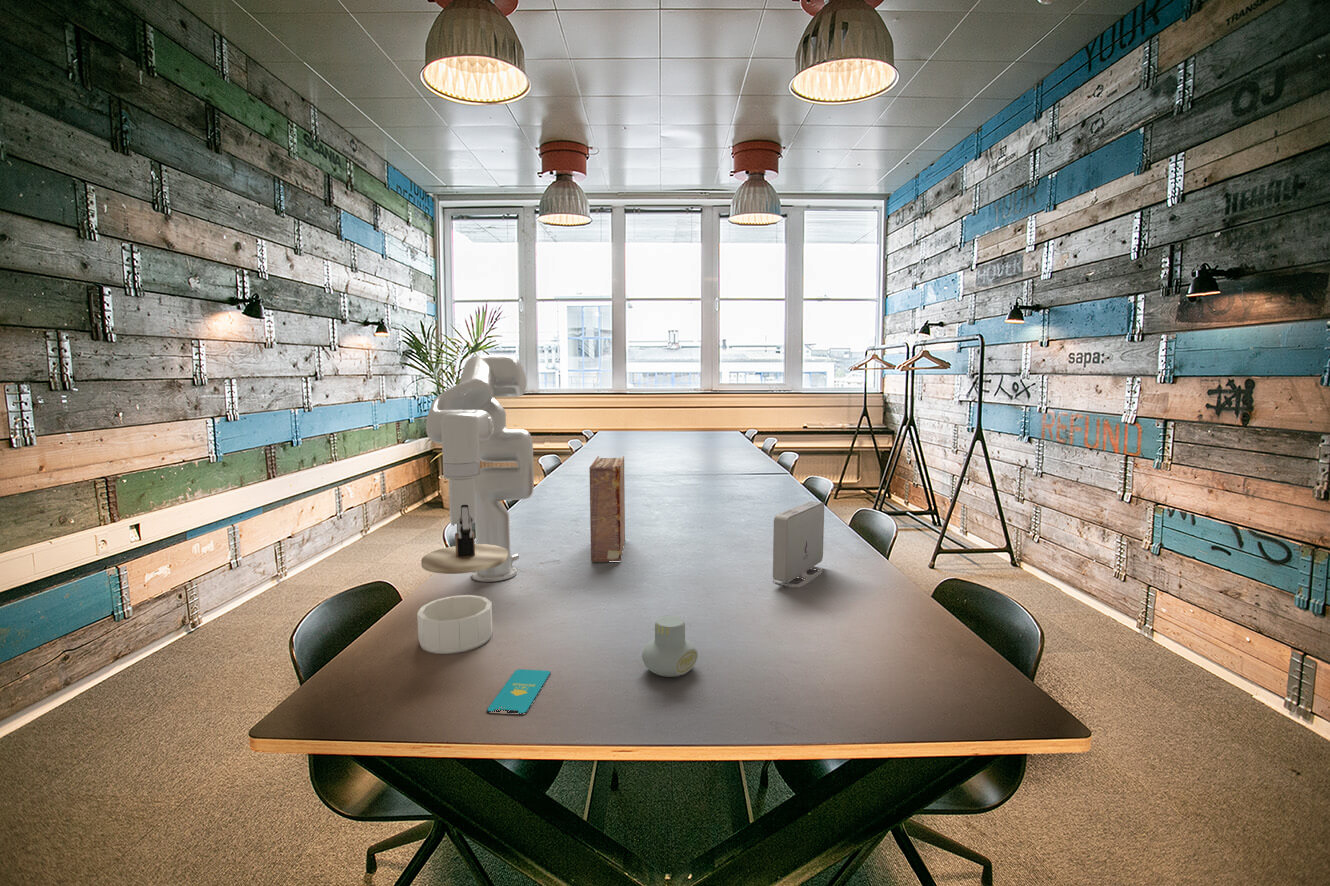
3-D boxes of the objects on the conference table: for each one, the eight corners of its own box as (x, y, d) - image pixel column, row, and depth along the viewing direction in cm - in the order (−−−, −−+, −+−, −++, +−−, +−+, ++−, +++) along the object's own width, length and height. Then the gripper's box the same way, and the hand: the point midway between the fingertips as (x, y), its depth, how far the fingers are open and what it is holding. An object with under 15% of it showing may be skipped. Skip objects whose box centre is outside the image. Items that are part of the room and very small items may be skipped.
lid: (458, 545, 141) (457, 520, 141) (524, 552, 136) (523, 526, 135) (402, 568, 125) (400, 540, 124) (474, 577, 119) (473, 548, 118)
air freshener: (671, 653, 124) (671, 607, 123) (703, 665, 119) (703, 617, 117) (635, 674, 115) (635, 624, 114) (668, 688, 110) (668, 636, 109)
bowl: (452, 620, 141) (450, 591, 140) (505, 629, 136) (504, 600, 135) (404, 647, 127) (402, 615, 126) (461, 658, 122) (460, 626, 121)
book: (599, 540, 209) (597, 456, 205) (625, 540, 209) (624, 455, 206) (590, 563, 184) (589, 467, 180) (620, 563, 184) (619, 467, 180)
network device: (792, 592, 158) (794, 519, 156) (763, 585, 164) (764, 514, 161) (829, 567, 178) (831, 502, 176) (802, 562, 184) (804, 498, 182)
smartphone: (551, 669, 116) (525, 712, 101) (552, 673, 116) (526, 717, 101) (515, 668, 117) (484, 711, 102) (516, 672, 117) (485, 715, 102)
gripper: (442, 465, 134) (445, 544, 136) (444, 477, 119) (448, 566, 121) (476, 463, 137) (479, 541, 139) (483, 474, 121) (486, 561, 124)
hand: (465, 552), depth 130 cm, fingers closed on lid, 4 cm apart
